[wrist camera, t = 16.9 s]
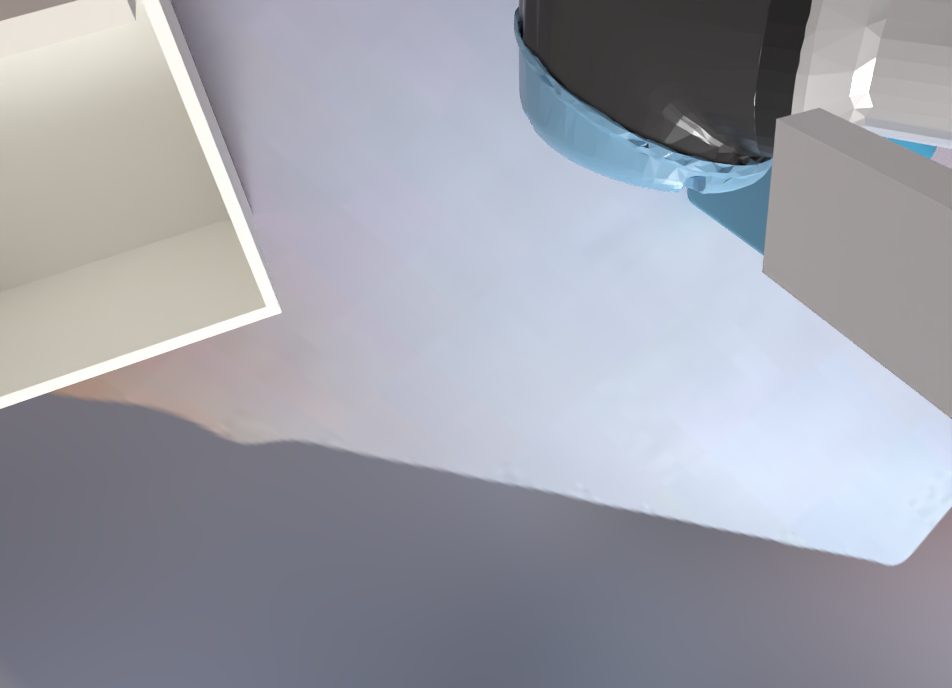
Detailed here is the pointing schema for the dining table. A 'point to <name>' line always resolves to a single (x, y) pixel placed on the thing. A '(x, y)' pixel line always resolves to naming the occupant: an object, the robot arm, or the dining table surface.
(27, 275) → the carton
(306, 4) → the dining table surface
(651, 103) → the robot arm
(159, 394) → the dining table surface
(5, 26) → the carton flap
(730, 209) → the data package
